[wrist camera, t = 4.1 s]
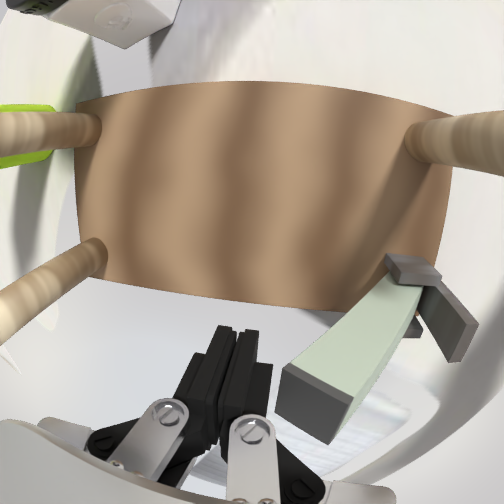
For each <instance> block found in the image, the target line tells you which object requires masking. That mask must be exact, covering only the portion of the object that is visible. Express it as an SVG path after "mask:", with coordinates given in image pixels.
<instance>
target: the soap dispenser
mask: <svg viewBox="0 0 504 504" xmlns="http://www.w3.org/2000/svg"><path fill="white" fill-rule="evenodd" d="M1 112H56V111H55V110H54V108H53V107H51V106H50V105H32V104H9V105H0V113H1ZM52 151H53V150H47V151H39V152H32V153H25V154H19V155H13V156H8V157H2V158H0V169H3V168H8V167H13V166H17V165H22V164H28V163H33V162H39V161H43V160H45V159H46V158H48V157H49V156H50V154H51V153H52Z"/></svg>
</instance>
